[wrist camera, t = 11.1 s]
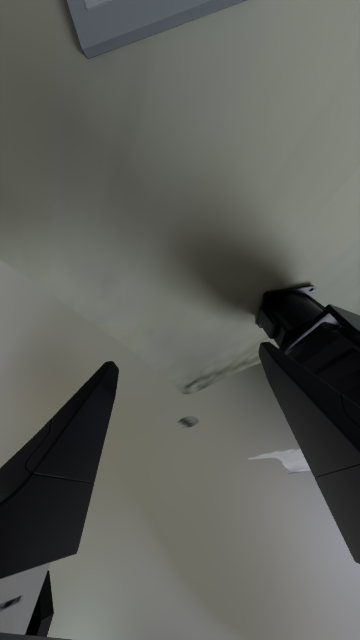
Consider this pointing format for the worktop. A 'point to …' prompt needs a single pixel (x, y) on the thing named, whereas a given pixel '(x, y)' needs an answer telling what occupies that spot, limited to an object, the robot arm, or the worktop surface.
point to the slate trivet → (133, 19)
